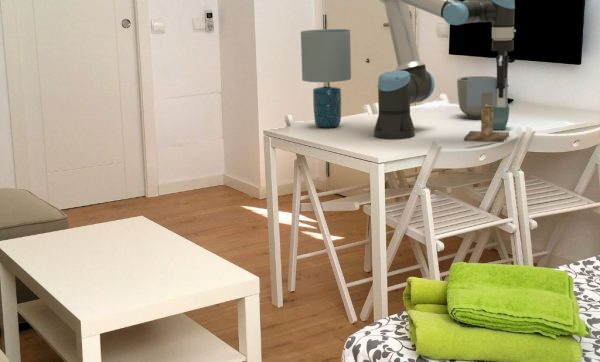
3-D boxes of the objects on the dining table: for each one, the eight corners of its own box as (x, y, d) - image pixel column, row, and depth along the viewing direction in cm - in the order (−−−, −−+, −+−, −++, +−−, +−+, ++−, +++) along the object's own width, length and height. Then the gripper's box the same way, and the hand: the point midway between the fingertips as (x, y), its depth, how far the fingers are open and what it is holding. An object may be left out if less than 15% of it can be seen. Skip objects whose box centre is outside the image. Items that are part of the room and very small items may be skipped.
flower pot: (509, 131, 334) (509, 107, 332) (485, 130, 336) (485, 107, 334) (508, 126, 342) (509, 103, 340) (485, 126, 344) (485, 103, 342)
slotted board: (466, 106, 320) (467, 78, 318) (467, 105, 322) (468, 77, 320) (506, 107, 316) (507, 79, 313) (507, 106, 318) (507, 78, 316)
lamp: (317, 121, 369) (314, 29, 361) (359, 123, 360) (358, 29, 352) (295, 129, 353) (291, 32, 344) (339, 131, 344) (336, 32, 335)
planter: (498, 121, 355) (499, 81, 352) (454, 120, 360) (454, 81, 356) (501, 114, 371) (501, 75, 368) (459, 113, 376) (459, 75, 372)
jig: (464, 140, 318) (464, 109, 315) (470, 134, 330) (470, 104, 327) (504, 142, 313) (505, 110, 311) (508, 135, 325) (509, 104, 323)
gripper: (511, 41, 304) (509, 109, 309) (516, 37, 318) (515, 103, 323) (488, 41, 306) (487, 109, 311) (495, 37, 320) (494, 102, 326)
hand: (501, 105), depth 317 cm, fingers closed on slotted board, 2 cm apart
